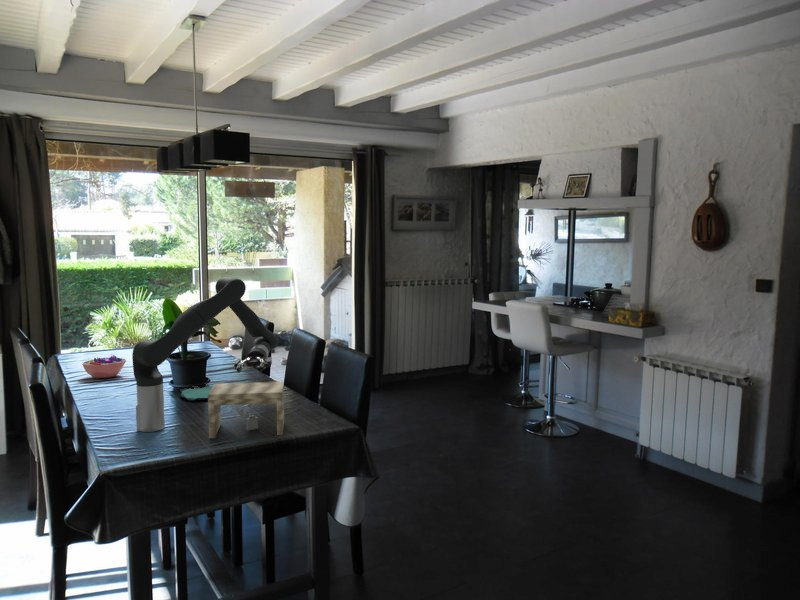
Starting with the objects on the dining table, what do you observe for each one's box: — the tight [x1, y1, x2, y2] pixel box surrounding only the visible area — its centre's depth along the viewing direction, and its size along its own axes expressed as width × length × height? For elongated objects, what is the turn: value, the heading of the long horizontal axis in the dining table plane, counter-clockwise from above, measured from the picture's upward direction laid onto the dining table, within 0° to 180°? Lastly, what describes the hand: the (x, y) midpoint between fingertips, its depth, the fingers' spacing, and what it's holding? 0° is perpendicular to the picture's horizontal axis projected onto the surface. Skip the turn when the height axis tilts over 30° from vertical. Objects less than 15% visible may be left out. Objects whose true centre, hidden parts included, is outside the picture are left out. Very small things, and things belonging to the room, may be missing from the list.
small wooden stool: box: [207, 381, 285, 439], centre depth 229 cm, size 26×16×16 cm, turn 99°
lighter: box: [237, 409, 259, 431], centre depth 230 cm, size 7×2×8 cm, turn 125°
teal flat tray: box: [179, 383, 213, 402], centre depth 281 cm, size 20×30×2 cm, turn 30°
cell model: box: [81, 354, 127, 379], centre depth 310 cm, size 17×20×11 cm
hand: (249, 369), depth 238 cm, fingers open, 8 cm apart
